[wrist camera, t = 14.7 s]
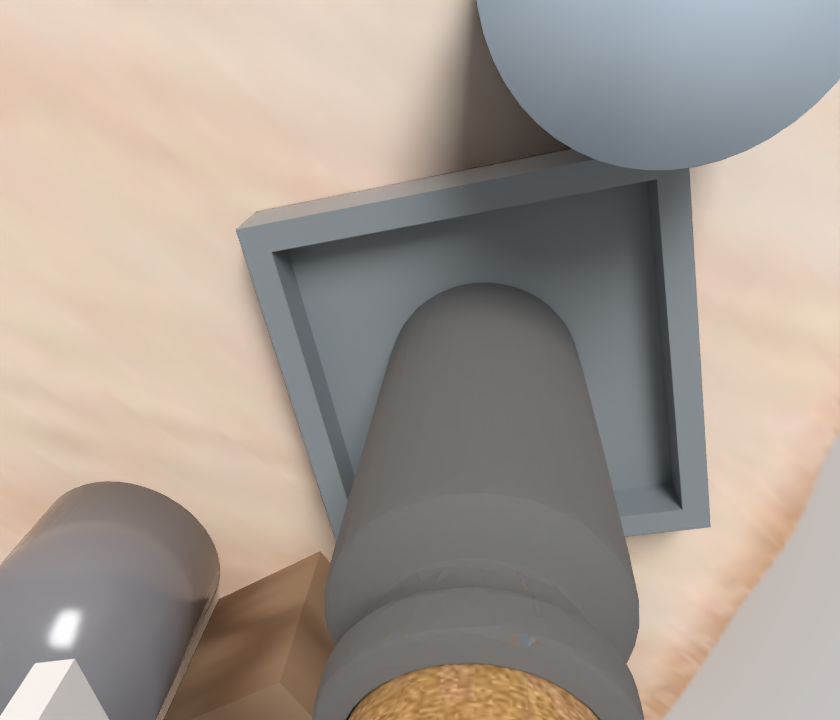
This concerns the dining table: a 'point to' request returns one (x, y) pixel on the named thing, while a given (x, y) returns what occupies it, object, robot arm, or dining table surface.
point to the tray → (510, 265)
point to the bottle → (481, 531)
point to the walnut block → (261, 650)
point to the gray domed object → (107, 594)
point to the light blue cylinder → (664, 72)
